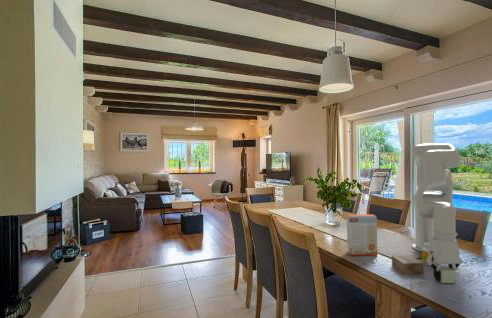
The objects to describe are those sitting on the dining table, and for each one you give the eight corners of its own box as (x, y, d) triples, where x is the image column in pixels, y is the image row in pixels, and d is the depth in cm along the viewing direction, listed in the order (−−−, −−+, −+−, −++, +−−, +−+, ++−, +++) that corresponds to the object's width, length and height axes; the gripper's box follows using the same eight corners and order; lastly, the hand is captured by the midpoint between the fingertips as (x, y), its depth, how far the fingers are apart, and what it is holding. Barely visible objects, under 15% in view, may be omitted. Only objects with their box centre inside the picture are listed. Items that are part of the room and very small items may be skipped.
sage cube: (445, 277, 112) (445, 265, 112) (454, 282, 107) (454, 270, 107) (433, 277, 112) (433, 265, 112) (442, 283, 107) (442, 270, 107)
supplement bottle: (419, 262, 130) (419, 242, 130) (429, 261, 130) (429, 241, 130) (427, 266, 124) (427, 245, 124) (438, 266, 125) (438, 245, 125)
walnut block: (410, 266, 126) (410, 255, 126) (423, 274, 117) (423, 263, 117) (392, 266, 126) (391, 255, 126) (403, 274, 117) (403, 263, 117)
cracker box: (373, 252, 143) (373, 213, 143) (377, 256, 137) (377, 216, 137) (346, 251, 145) (346, 213, 145) (350, 255, 139) (349, 216, 139)
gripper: (457, 232, 113) (457, 274, 113) (417, 233, 113) (417, 275, 113) (472, 238, 105) (472, 283, 106) (429, 238, 105) (429, 284, 106)
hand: (444, 278), depth 109 cm, fingers closed on sage cube, 5 cm apart
